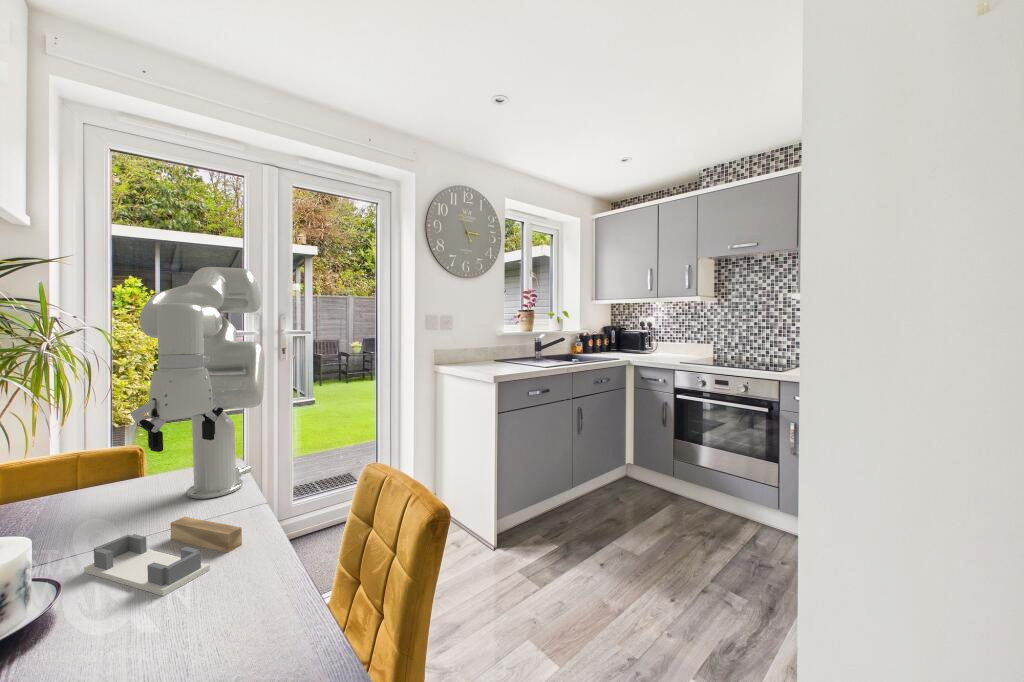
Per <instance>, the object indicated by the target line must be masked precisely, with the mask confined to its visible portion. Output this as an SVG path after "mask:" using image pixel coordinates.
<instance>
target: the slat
mask: <svg viewBox="0 0 1024 682" xmlns="http://www.w3.org/2000/svg"><path fill="white" fill-rule="evenodd" d="M242 529H243V528H242V527H240V526H235V525H230V524H225V523H221V522H220V523H219V522H215V521H211V520H206V519H200V518H194V517H188V516H182V517H181V518H178V519H176V520H174V521H172V522H170V540H171V541H175V542H178V543H184V544H188V545H193V546H196V547H197V546H198V547H202V548H207V549H211V550H216V551H220V552H226V553H231V552H232V551H234V550H235V549H238V548H239V547H241V546H243V537H242V532H243V530H242Z"/></svg>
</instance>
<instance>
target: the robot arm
mask: <svg viewBox="0 0 1024 682" xmlns="http://www.w3.org/2000/svg"><path fill="white" fill-rule="evenodd" d="M261 304H262V295H261V291H260V288H259V286H258V282H257V279H256V278H255V276H254V275H253V273H252V272H251V271H250V270H248V269H246V268H242V267H241V268H240V267H225V266H224V267H222V266H219V267H218V266H205V267H202V268H199V269H197V270H195V272H194V273H193V275H192V277H191V278H190V279H189V281H188V282H187V284H184V285H180V286H176V287H173V288H170V289H169V288H168V289H166V290H163V291H160V292H157V293H155V294H153V295H152V296H151V297H150V298H149V299H148V300H147V302H146V303H145V304H144V306H143V308H142V310H141V311H140V315H139V326H140V329H141V332H143V334H144V335H146V336H148V337H149V338H153V339H157V353H158V354H157V355H158V356H157V357H158V359H157V361H158V366H157V367H158V370H153V372H152V376H151V378H150V379H151V380H150V385H149V391H148V402H146V403H144V404H143V405H141V406H139V407H137V408H136V409H134V410H132V411H131V412H130V416H131V417H132V418H133V419H132V420H134V421H135V422H136V425H137V426H138V427H141V428H142V429H143V430H144V431H145V432H147V446H148V448H149V449H150V451H151V452H155V453H160V452H163V451H164V432H163V431H162V430H161V429H162V427H163V426H164V425H165V424H166V422H168V421H175V420H180V419H185V418H186V419H187V418H190V419H191V430H192V431H191V433H192V435H191V436H192V462H193V463H192V465H193V467H192V468H193V485H191V486H190V487H189V488H187V490H186V496H187V497H188V498H189V499H195V500H196V499H197V500H198V499H199V500H202V499H203V500H204V499H211V498H217V497H223V496H225V495H229V494H232V493H234V492H237V491H238V490H240V489H241V488H242V487H243V483H244V482H243V480H242V479H241V477H242V476H243V475H246V474H249V473H251V472H252V467H251V466H250V465H248V466H244V467H242V468H240V467H236V466H237V465H236V430H235V422H234V421H233V419H232V418H231V417H230V416H229V415H228V414H227V413H226V412H225V411H228V410H240V409H251V408H256V407H258V406H260V405H261V403H262V401H263V398H264V391H265V388H264V385H265V383H264V382H265V352H264V349H263V347H262V345H261V344H260V343H258V342H255V341H237V333H238V332H237V329H236V327H235V326H234V325H233V324H232V322H230V320H228V319H227V318H226V317H225V316H223V315H222V314H221V313H227V314H228V313H229V314H230V313H231V314H232V313H234V314H235V313H236V314H237V313H238V314H241V313H242V314H247V313H248V314H251V313H255V312H257V311H259V309H260V307H261ZM147 413H148V417H149V418H150V420H147V418H146V416H145V414H147ZM239 488H240V489H239Z"/></svg>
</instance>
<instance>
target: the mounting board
mask: <svg viewBox="0 0 1024 682" xmlns="http://www.w3.org/2000/svg"><path fill="white" fill-rule="evenodd" d="M147 547H148V546H147V536H144V535H140V534H139V535H138V534H135V533H133V534H126V535H123V536H121V537H118V538H116V539H113V540H111V541H108V542H106V543H103V544H101V545H99V546H96V547H93V559H94V560H93V563H90V564H88V565H86V566H84V567H83V568H84V569H83V570H84V571H83V572H84V573H85V574H89V575H91V576H94V577H95V576H96V577H99V578H102V579H105V580H108V581H113V582H115V583H118V584H122V585H125V586H128V587H132V588H135V589H138V590H141V591H146V592H147V593H152V594H155V595H159V596H162V597H164V596H166V595H168V594H170V593H171V592H173V591H175V590H177V589H179V588H181V587H182V586H184V585H186V584H188V583H189V582H192V581H193V580H196V579H197V578H199V577H200V576H201V575H204V574H205V573H207V572H209V571H210V570H211V569H210V567H211V566H210V564H208V563H205V562H204V563H203V562H202V559H201V558H202V556H201V555H202V554H201V551H200V549H197V548H192V547H189V546H184V547H182V548H181V549H180V557H179V556H176V555H172V554H168V553H164V552H161V551H156V550H153V549H149V548H147Z"/></svg>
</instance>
